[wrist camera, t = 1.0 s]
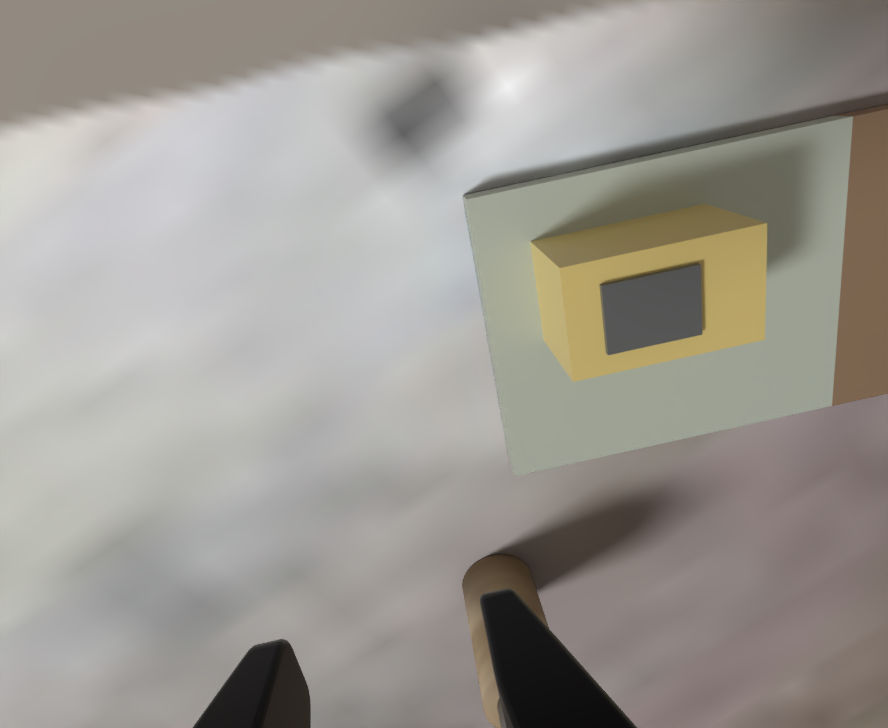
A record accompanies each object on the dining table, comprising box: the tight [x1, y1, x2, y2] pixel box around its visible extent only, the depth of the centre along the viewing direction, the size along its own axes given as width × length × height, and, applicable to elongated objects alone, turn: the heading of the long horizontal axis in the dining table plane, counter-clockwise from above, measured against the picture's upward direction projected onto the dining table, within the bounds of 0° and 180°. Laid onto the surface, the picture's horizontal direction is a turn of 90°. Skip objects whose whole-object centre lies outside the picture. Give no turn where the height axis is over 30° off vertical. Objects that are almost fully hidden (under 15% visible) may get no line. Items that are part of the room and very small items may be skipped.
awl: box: [462, 554, 549, 728], centre depth 19 cm, size 3×3×7 cm
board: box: [463, 104, 888, 476], centre depth 19 cm, size 18×9×1 cm, turn 101°
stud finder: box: [530, 204, 767, 382], centre depth 16 cm, size 5×3×3 cm, turn 101°
